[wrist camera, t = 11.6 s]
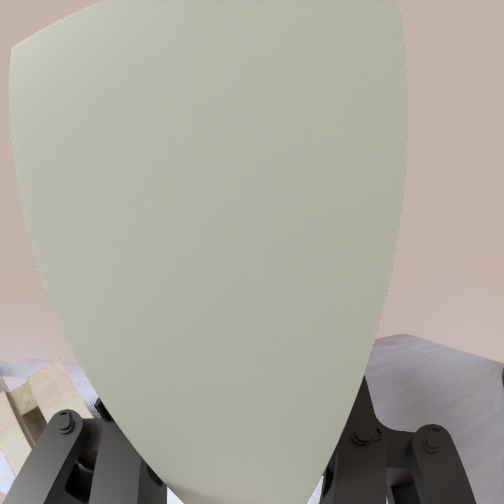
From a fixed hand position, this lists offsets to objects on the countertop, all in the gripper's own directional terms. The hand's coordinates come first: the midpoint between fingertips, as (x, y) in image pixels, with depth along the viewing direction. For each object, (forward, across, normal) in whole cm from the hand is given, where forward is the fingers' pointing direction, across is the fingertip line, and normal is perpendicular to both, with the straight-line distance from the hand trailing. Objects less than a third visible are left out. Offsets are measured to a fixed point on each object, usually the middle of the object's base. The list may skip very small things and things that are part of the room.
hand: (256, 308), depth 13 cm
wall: (-2, -25, -25) cm, 35 cm away
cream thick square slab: (0, 0, -9) cm, 9 cm away
